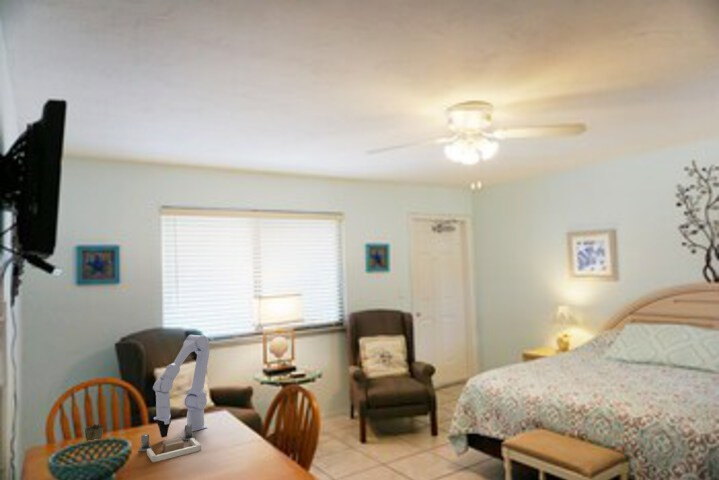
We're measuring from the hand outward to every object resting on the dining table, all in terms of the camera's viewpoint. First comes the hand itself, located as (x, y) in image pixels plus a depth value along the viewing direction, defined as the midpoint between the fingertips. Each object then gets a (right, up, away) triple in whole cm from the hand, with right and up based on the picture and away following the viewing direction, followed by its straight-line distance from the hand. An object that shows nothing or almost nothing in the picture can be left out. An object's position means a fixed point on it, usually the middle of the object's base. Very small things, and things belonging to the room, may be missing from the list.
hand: (164, 436), depth 213 cm
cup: (-30, -3, -2) cm, 31 cm away
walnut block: (+10, 0, -14) cm, 17 cm away
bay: (+11, 0, -15) cm, 19 cm away
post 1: (-3, -1, -11) cm, 11 cm away
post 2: (+11, -1, -1) cm, 11 cm away
